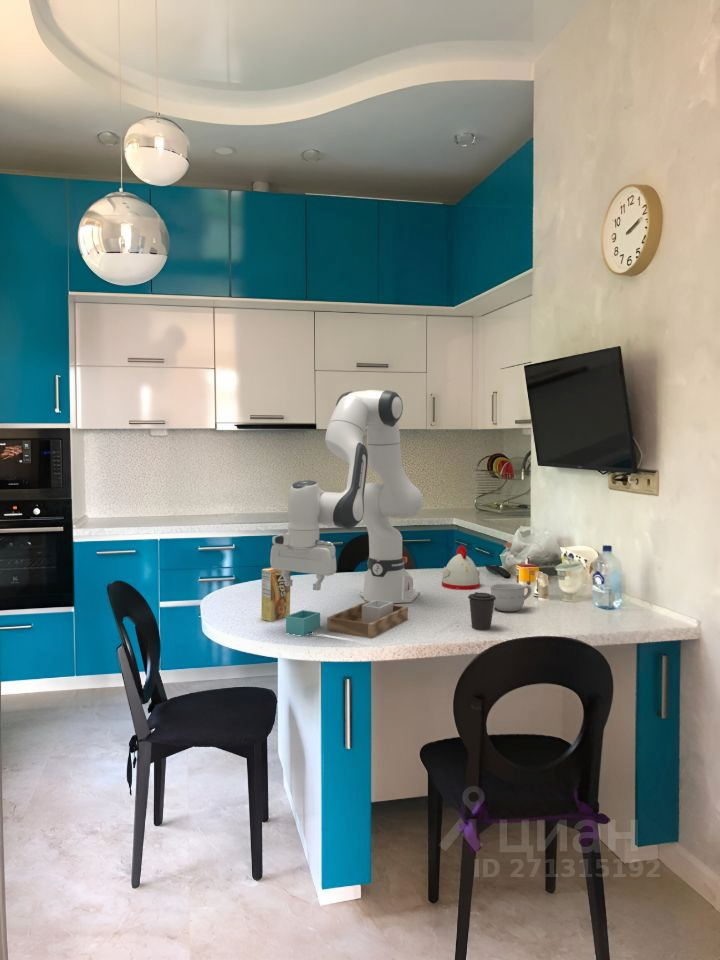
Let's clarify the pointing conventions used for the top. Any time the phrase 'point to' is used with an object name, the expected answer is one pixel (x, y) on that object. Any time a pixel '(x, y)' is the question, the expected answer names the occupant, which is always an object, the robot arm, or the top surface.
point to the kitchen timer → (461, 572)
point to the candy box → (274, 595)
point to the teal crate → (302, 622)
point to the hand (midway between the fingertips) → (302, 587)
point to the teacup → (509, 596)
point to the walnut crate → (353, 624)
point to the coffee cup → (481, 610)
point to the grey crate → (376, 610)
